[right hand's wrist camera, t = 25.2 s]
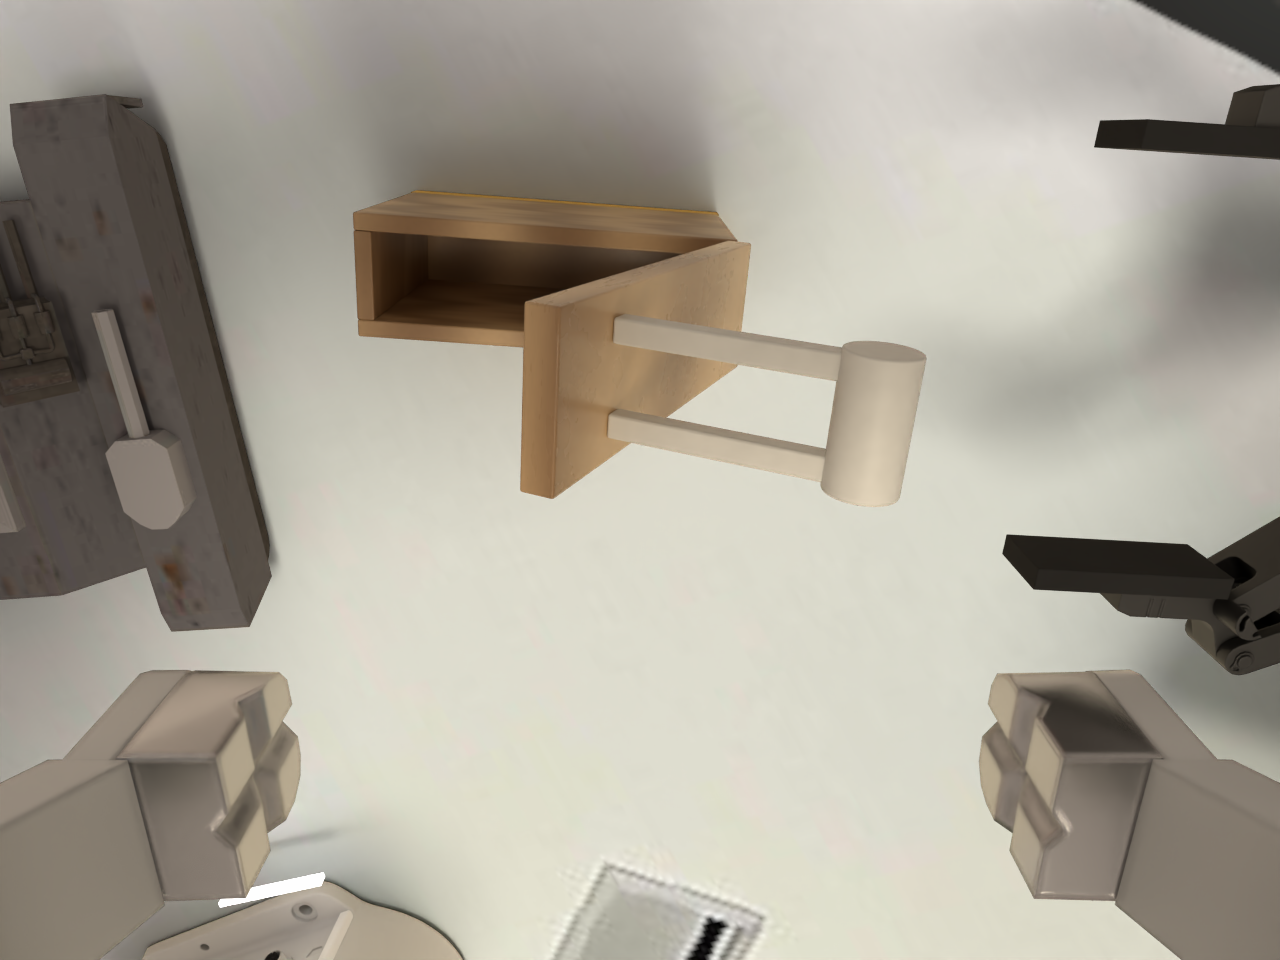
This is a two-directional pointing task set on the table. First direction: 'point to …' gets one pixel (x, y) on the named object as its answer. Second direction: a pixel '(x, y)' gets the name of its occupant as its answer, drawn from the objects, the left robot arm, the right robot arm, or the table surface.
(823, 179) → the table surface
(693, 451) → the lid
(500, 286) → the chest
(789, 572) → the table surface
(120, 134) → the toy
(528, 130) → the table surface
